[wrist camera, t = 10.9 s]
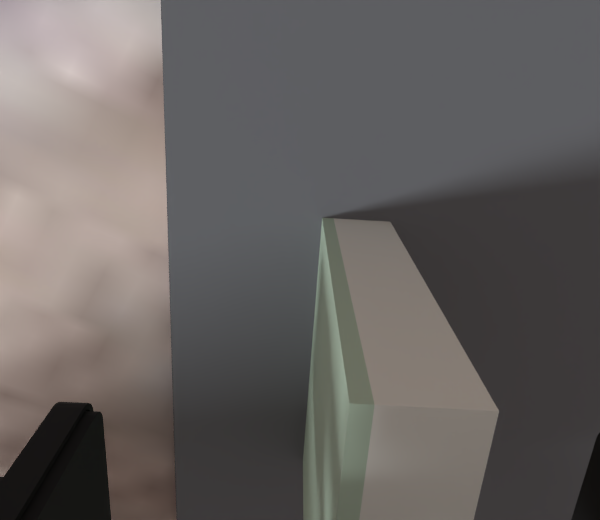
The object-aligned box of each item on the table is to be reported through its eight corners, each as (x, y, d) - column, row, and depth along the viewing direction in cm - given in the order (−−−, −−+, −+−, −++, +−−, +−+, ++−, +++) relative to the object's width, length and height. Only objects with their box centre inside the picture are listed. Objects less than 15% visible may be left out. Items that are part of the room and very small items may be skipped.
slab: (408, 794, 9) (498, 411, 6) (305, 790, 9) (349, 402, 6) (359, 463, 17) (390, 222, 14) (302, 460, 17) (322, 217, 14)
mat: (634, 536, 18) (645, 551, 18) (180, 515, 18) (177, 530, 18) (940, -266, 11) (976, -284, 10) (158, -328, 10) (150, -351, 10)
